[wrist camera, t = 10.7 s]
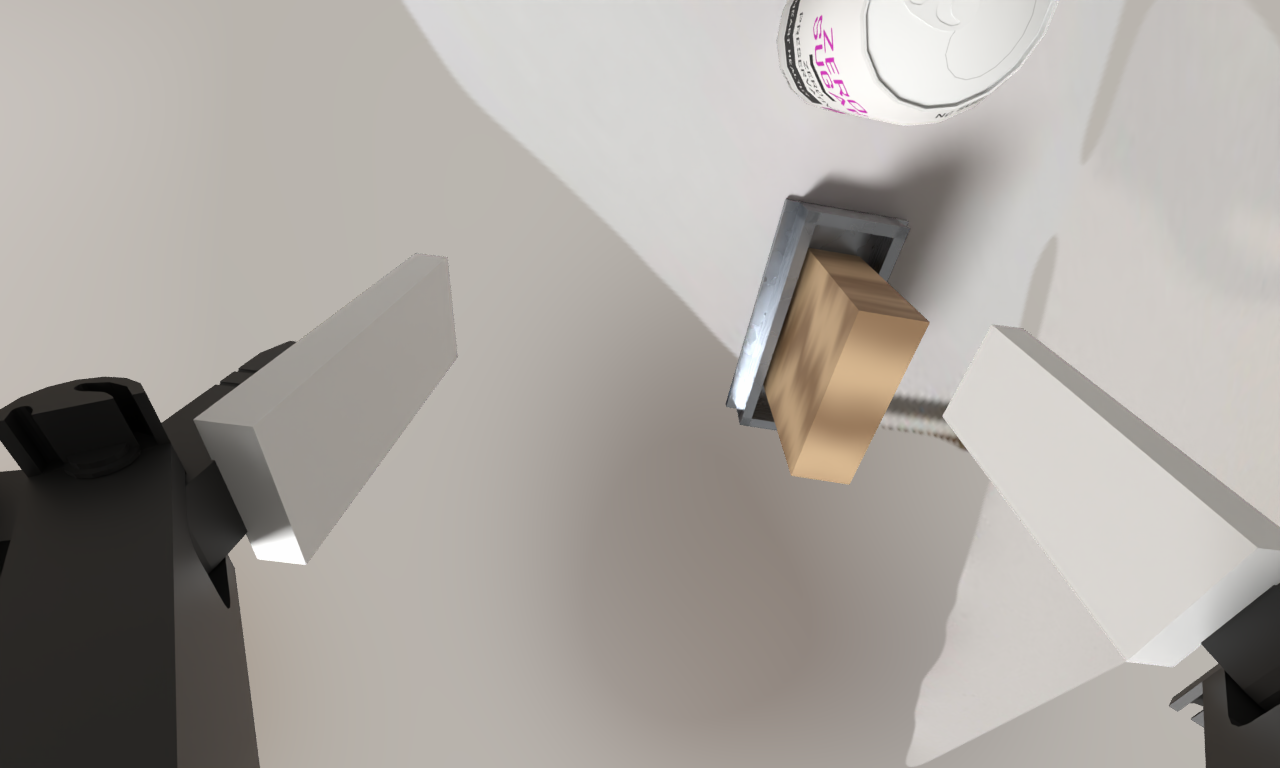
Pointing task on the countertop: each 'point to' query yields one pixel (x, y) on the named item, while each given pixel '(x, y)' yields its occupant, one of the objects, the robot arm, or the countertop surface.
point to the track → (794, 235)
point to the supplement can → (906, 53)
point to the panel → (838, 363)
